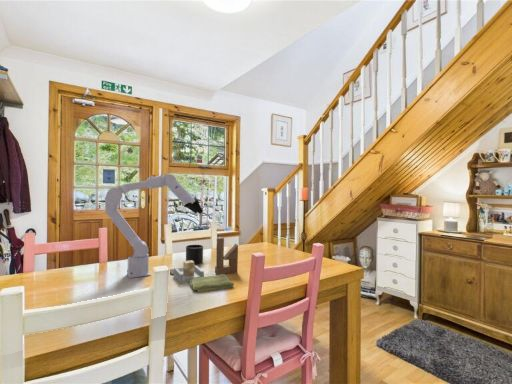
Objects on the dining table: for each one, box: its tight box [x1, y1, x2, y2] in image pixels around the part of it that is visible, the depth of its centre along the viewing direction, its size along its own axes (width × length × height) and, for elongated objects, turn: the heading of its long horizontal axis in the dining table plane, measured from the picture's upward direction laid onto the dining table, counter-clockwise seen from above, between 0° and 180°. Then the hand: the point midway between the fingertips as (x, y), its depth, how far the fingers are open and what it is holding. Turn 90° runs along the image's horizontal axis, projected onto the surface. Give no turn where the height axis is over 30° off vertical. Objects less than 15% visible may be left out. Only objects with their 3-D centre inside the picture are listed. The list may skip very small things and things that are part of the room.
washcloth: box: [189, 274, 235, 293], centre depth 125 cm, size 13×18×3 cm
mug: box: [185, 244, 204, 265], centre depth 160 cm, size 9×12×9 cm
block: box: [182, 260, 195, 276], centre depth 133 cm, size 4×4×6 cm
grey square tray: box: [173, 264, 205, 284], centre depth 133 cm, size 11×11×4 cm
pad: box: [169, 267, 183, 276], centre depth 143 cm, size 10×7×1 cm
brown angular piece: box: [214, 236, 239, 275], centre depth 142 cm, size 4×11×18 cm, turn 115°
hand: (199, 212), depth 149 cm, fingers open, 7 cm apart
